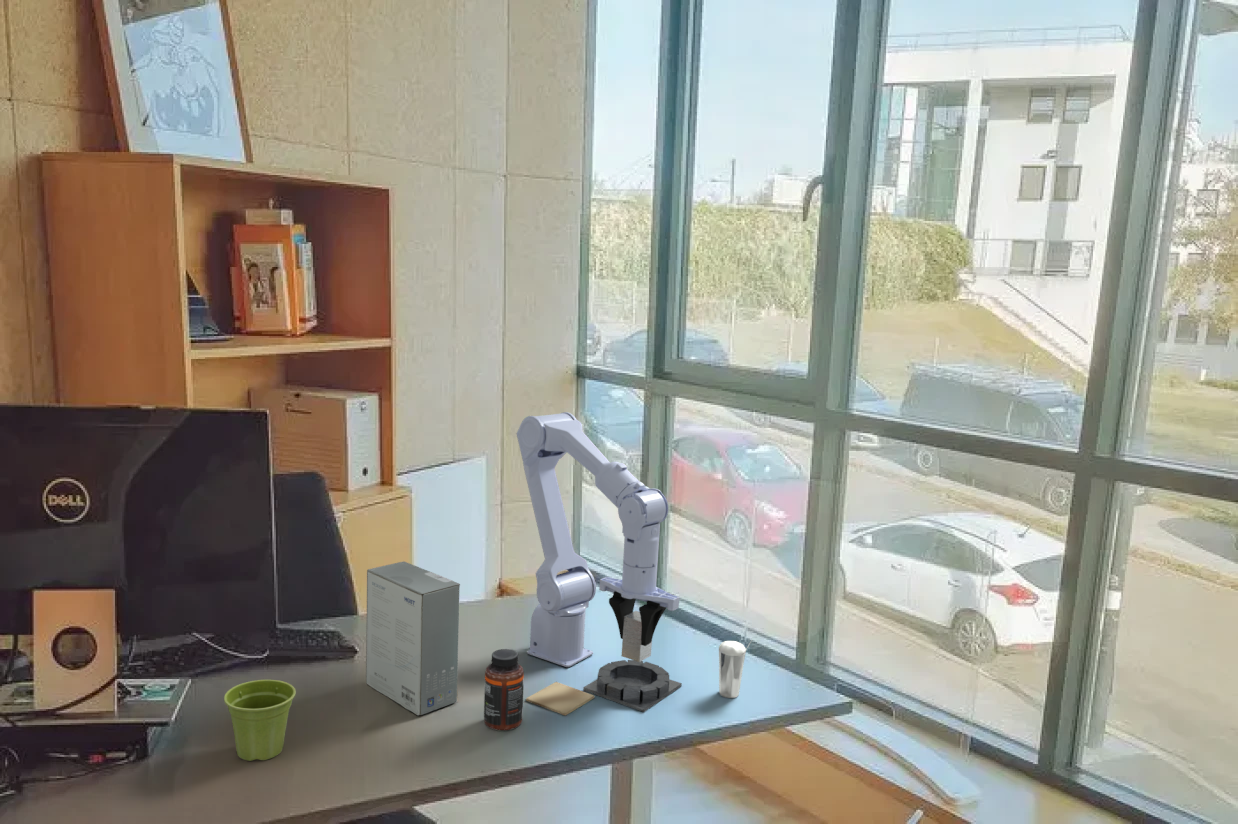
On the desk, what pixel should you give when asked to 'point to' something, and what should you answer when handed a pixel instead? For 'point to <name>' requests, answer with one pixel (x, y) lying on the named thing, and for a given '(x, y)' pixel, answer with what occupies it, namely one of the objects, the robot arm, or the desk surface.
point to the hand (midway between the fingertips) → (635, 640)
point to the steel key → (634, 639)
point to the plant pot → (259, 717)
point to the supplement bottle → (503, 691)
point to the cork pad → (560, 698)
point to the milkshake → (730, 668)
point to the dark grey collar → (633, 684)
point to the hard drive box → (412, 636)
